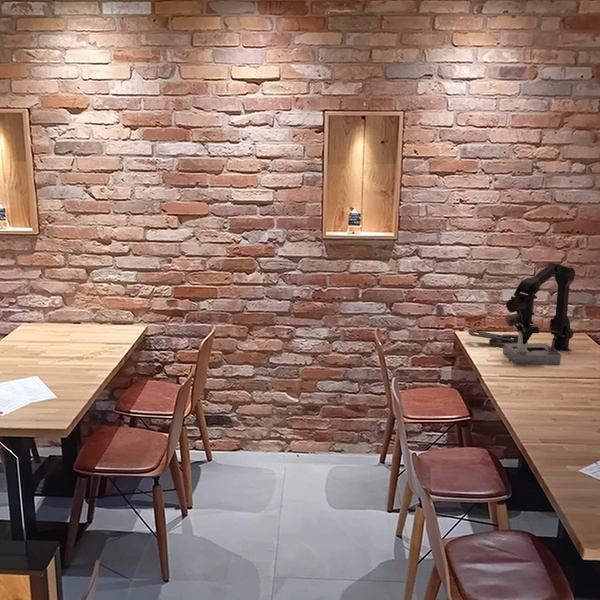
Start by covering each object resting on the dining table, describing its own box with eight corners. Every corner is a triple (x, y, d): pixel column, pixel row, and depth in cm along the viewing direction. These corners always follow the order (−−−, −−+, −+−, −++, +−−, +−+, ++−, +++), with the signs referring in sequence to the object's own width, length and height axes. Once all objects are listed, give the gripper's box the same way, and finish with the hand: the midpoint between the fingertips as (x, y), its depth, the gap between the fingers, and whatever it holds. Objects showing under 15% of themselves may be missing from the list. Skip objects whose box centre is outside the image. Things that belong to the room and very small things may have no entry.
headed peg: (525, 351, 326) (527, 330, 323) (529, 355, 320) (531, 334, 318) (513, 351, 325) (515, 330, 323) (517, 355, 320) (520, 334, 317)
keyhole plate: (544, 353, 332) (546, 343, 331) (559, 364, 317) (561, 354, 316) (502, 353, 331) (503, 343, 329) (515, 365, 315) (516, 355, 314)
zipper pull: (467, 328, 346) (520, 330, 344) (466, 341, 347) (518, 343, 346) (470, 333, 337) (524, 335, 336) (469, 347, 339) (523, 349, 337)
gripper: (500, 303, 326) (497, 336, 330) (516, 315, 308) (512, 349, 312) (524, 303, 327) (521, 336, 331) (541, 314, 309) (537, 349, 313)
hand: (522, 342), depth 322 cm, fingers closed on headed peg, 3 cm apart
